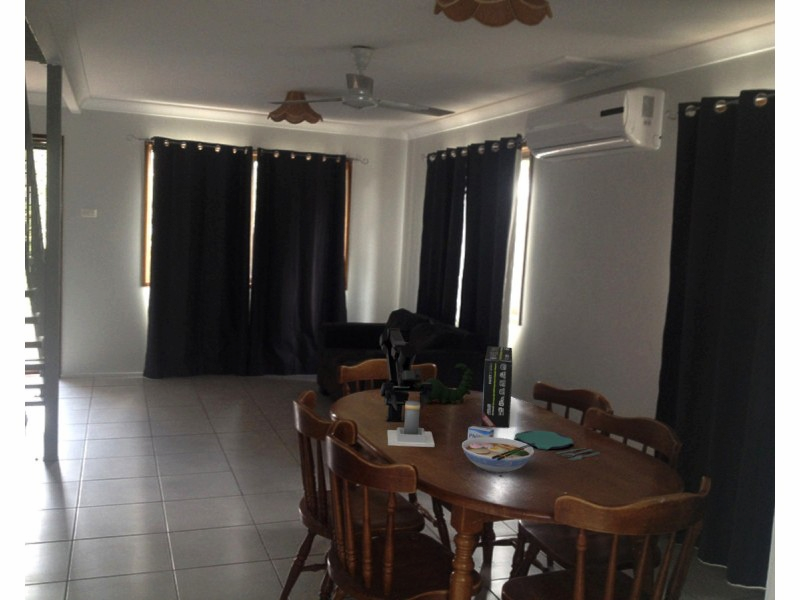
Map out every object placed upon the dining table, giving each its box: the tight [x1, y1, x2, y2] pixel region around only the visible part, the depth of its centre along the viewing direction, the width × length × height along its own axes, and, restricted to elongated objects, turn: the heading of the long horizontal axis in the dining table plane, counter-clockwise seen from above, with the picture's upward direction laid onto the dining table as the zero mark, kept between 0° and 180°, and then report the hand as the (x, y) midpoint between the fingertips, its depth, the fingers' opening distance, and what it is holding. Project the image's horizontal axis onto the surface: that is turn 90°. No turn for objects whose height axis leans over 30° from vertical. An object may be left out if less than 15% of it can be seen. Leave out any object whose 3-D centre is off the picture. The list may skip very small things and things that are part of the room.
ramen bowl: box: [461, 436, 536, 474], centre depth 228 cm, size 25×23×8 cm
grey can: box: [403, 400, 421, 435], centre depth 255 cm, size 5×5×13 cm
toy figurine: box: [416, 363, 474, 405], centre depth 316 cm, size 9×19×25 cm
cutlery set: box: [513, 429, 601, 461], centre depth 258 cm, size 20×30×2 cm, turn 32°
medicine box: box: [466, 425, 495, 440], centre depth 245 cm, size 8×4×9 cm, turn 62°
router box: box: [481, 345, 513, 429], centre depth 296 cm, size 36×11×27 cm, turn 172°
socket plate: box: [387, 427, 435, 448], centre depth 257 cm, size 16×16×4 cm
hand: (409, 409), depth 258 cm, fingers open, 9 cm apart
